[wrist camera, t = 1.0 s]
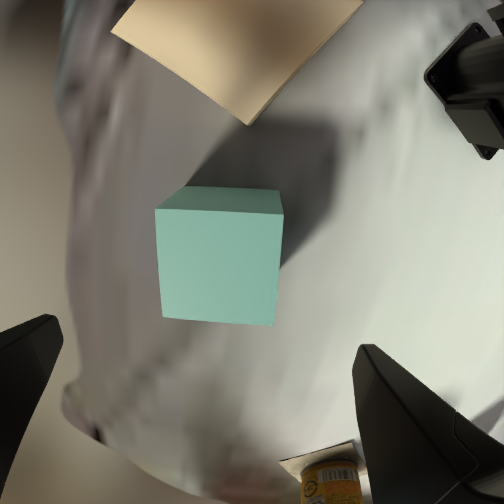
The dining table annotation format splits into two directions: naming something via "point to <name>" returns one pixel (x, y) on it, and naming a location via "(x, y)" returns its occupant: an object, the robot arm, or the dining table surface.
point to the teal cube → (220, 254)
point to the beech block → (234, 43)
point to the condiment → (329, 475)
